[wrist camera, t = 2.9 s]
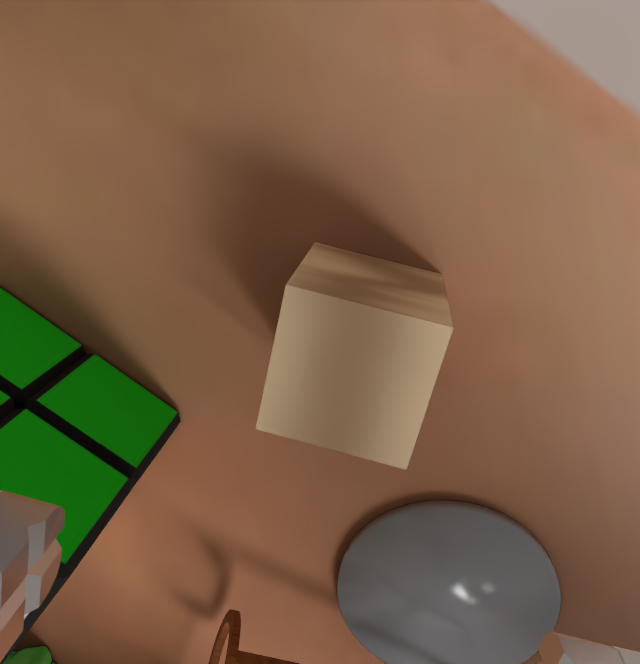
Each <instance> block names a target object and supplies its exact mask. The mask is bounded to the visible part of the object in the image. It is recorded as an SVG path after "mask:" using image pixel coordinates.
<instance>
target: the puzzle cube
mask: <svg viewBox="0 0 640 664" xmlns="http://www.w3.org/2000/svg"><path fill="white" fill-rule="evenodd" d="M180 422H181V421H180V417H179V413H178V412H177V411H176V410H174V409H173V408H171V407H170V406H169V405H167V404H166V403H164V402H163V401H162V400H160V399H159V398H157V397H156V396H154V395H153V394H152V393H150V392H149V391H147V390H146V389H144V388H143V387H142V386H140V385H139V384H137V383H136V382H135V381H133V380H132V379H130V378H129V377H127V376H126V375H125V374H123V373H122V372H120V371H119V370H117V369H116V368H115V367H113V366H112V365H110V364H109V363H108V362H106V361H105V360H103V359H102V358H100V357H99V356H98V355H96V354H86V355H85V352H84V349H83V345H82V344H80V343H79V342H77V341H76V340H74V339H73V338H72V337H70V336H69V335H67V334H66V333H65V332H63V331H62V330H60V329H59V328H57V327H56V326H55V325H53V324H52V323H50V322H49V321H47V320H46V319H45V318H43V317H42V316H40V315H39V314H38V313H36V312H35V311H33V310H32V309H30V308H29V307H28V306H26V305H25V304H23V303H22V302H20V301H19V300H18V299H16V298H15V297H13V296H12V295H11V294H9V293H8V292H6V291H5V290H3V289H2V288H1V287H0V490H1V491H8V492H11V493H15V494H19V495H22V496H26V497H29V498H33V499H36V500H40V501H43V502H47V503H51V504H54V505H58V506H61V507H62V508H63V509H64V510H65V520H64V528H63V529H62V530H61V532H60V533H59V534H58V536H57V537H56V539H57V541H58V543H59V544H60V546H61V548H62V554H61V562H60V566H59V569H58V573H57V576H56V578H55V580H54V583H53V585H52V587H51V589H50V591H49V593H48V595H47V596H46V598H45V599H44V601H43V602H42V604H41V605H40V607H39V608H37V609H35V610H33V611H31V612H29V613H27V614H25V615H24V625H23V631H22V633H21V634H20V635H19V637H18V638H17V640H16V641H15V642H14V644H13V645H12V647H11V648H10V650H9V651H8V652H7V654H6V655H5V657H4V658H3V659H2V661H1V662H0V664H3V662H4V661H5V659H6V658H7V657H8V655H10V654H11V653H12V651H13V650H14V649H15V648H16V646H17V645H18V644H19V642H20V641H21V640H22V638H23V637H24V636H25V634H26V633H27V632H28V630H29V629H30V628H31V627H32V625H33V624H34V623H35V621H36V620H37V619H38V617H39V616H40V615H41V613H42V612H43V611H44V609H45V608H46V607H47V606H48V604H49V603H50V602H51V600H52V599H53V598H54V596H55V595H56V594H57V592H58V591H59V590H60V588H61V587H62V586H63V584H64V583H65V582H66V581H67V579H68V578H69V577H70V575H71V574H72V572H73V571H74V570H75V568H76V567H77V565H78V564H79V563H80V561H81V560H82V558H83V557H84V556H85V554H86V553H87V551H88V550H89V548H90V547H91V546H92V544H93V543H94V541H95V540H96V539H97V537H98V536H99V534H100V533H101V532H102V530H103V529H104V527H105V526H106V525H107V523H108V522H109V520H110V519H111V518H112V516H113V515H114V513H115V512H116V510H117V509H118V508H119V506H120V505H121V503H122V502H123V501H124V499H125V498H126V496H127V495H128V494H129V492H130V491H131V489H132V488H133V486H134V485H135V484H136V482H137V481H138V480H139V478H140V477H141V476H142V474H143V473H144V471H145V470H146V469H147V467H148V466H149V465H150V463H151V462H152V460H153V459H154V458H155V456H156V455H157V453H158V452H159V451H160V449H161V448H162V447H163V445H164V444H165V442H166V441H167V440H168V438H169V437H170V435H171V434H172V433H173V431H174V430H175V428H176V427H177V426H178V424H179V423H180Z"/></svg>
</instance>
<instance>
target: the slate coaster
mask: <svg viewBox="0 0 640 664" xmlns="http://www.w3.org/2000/svg"><path fill="white" fill-rule="evenodd" d="M337 594H338V603H339V606H340V610H341V613H342V616H343V618H344V620H345V622H346V624H347V626H348V627H349V629H350V631H351V632H352V634H353V635H354V636H355V637H356V638H357V640H358V641H359V642H360V643H361V644H362V645H363V646H364V647H365V648H366V649H367V650H368V651H369V652H371V653H372V654H374V655H375V656H376V657H378V658H379V659H381V660H382V661H384V662H386V663H387V664H521V663H523V662H524V661H526V660H527V659H529V658H530V657H532V656H533V655H534V654H535V653H536V652H537V651H538V646H539V644H540V643H541V641H542V639H543V637H544V636H545V635H546V634H547V633H548V632H549V631H553V630H554V628H555V626H556V623H557V621H558V617H559V613H560V608H561V593H560V586H559V582H558V579H557V576H556V573H555V569H554V566H553V563H552V561H551V559H550V557H549V555H548V553H547V552H546V550H545V549H544V548H543V546H542V545H541V543H540V542H539V541H538V540H537V539H536V538H535V537H534V536H533V535H532V534H531V533H530V532H529V531H528V530H527V529H526V528H524V527H523V526H522V525H521V524H519V523H518V522H516V521H514V520H513V519H511V518H510V517H508V516H506V515H504V514H502V513H500V512H497V511H495V510H493V509H490V508H487V507H484V506H481V505H477V504H472V503H468V502H461V501H452V500H432V501H423V502H417V503H412V504H408V505H404V506H401V507H398V508H396V509H393V510H390V511H388V512H386V513H384V514H382V515H380V516H379V517H377V518H376V519H374V520H373V521H371V522H370V523H368V524H367V525H366V526H365V527H364V528H363V529H362V530H360V531H359V532H358V534H357V535H356V536H355V537H354V538H353V540H352V541H351V543H350V544H349V546H348V548H347V549H346V551H345V553H344V556H343V558H342V561H341V565H340V570H339V576H338V587H337Z"/></svg>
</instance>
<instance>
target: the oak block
mask: <svg viewBox="0 0 640 664" xmlns="http://www.w3.org/2000/svg"><path fill="white" fill-rule="evenodd" d="M453 328H454V327H453V323H452V318H451V313H450V308H449V304H448V299H447V294H446V289H445V285H444V280H443V275H442V274H439V273H436V272H432V271H428V270H424V269H420V268H416V267H412V266H408V265H404V264H400V263H396V262H392V261H388V260H384V259H380V258H376V257H372V256H368V255H364V254H360V253H357V252H353V251H349V250H345V249H341V248H337V247H333V246H329V245H325V244H321V243H317V242H315V243H314V244H313V246H312V247H311V249H310V250H309V252H308V253H307V255H306V256H305V257H304V259H303V260H302V262H301V263H300V265H299V266H298V268H297V269H296V271H295V272H294V274H293V275H292V276H291V278H290V279H289V281H288V282H287V284H286V286H285V291H284V296H283V301H282V305H281V310H280V315H279V320H278V324H277V329H276V334H275V339H274V343H273V348H272V353H271V358H270V362H269V367H268V372H267V377H266V381H265V386H264V391H263V396H262V401H261V405H260V410H259V415H258V420H257V424H256V429H257V430H260V431H264V432H268V433H271V434H275V435H279V436H282V437H286V438H290V439H294V440H297V441H301V442H305V443H308V444H312V445H316V446H320V447H323V448H327V449H331V450H334V451H338V452H342V453H345V454H349V455H353V456H357V457H360V458H364V459H368V460H371V461H375V462H379V463H383V464H386V465H390V466H394V467H397V468H401V469H405V470H407V467H408V464H409V461H410V458H411V455H412V452H413V449H414V446H415V443H416V440H417V437H418V434H419V431H420V428H421V425H422V422H423V418H424V415H425V412H426V409H427V406H428V403H429V400H430V397H431V394H432V391H433V388H434V385H435V382H436V379H437V376H438V373H439V370H440V367H441V364H442V361H443V358H444V355H445V352H446V349H447V346H448V343H449V340H450V337H451V334H452V331H453Z"/></svg>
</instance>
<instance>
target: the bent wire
mask: <svg viewBox="0 0 640 664" xmlns="http://www.w3.org/2000/svg"><path fill="white" fill-rule="evenodd" d="M240 628H241V617H240V612H239V611H236V610H231V609H230V610H229V611H228V612H227V614H226V615H225V617H224V619H223V621H222V624H221V626H220V629H219V631H218V634H217V637H216V640H215V643H214V646H213V650H212V653H211V657H210V661H209V664H218V663H219V659H220V655H221V652H222V648H223V645H224V642H225V640H226V637H227V635H228V632H229V641H228V648H227V654H226V660H225V664H299V663H294V662H290V661H285V660H280V659H276V658H271V657H266V656H262V655H257V654H252V653H248V652H243V651H239V650H238V647H239V639H240Z"/></svg>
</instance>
